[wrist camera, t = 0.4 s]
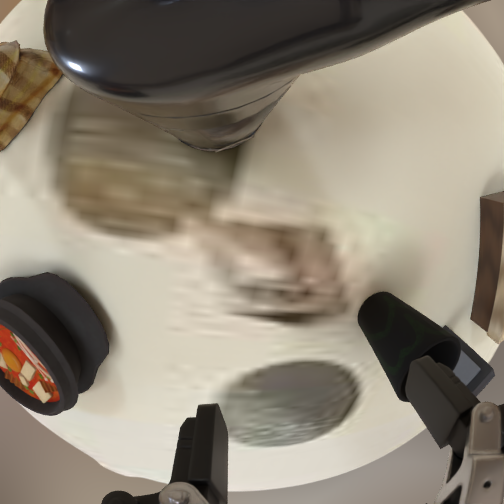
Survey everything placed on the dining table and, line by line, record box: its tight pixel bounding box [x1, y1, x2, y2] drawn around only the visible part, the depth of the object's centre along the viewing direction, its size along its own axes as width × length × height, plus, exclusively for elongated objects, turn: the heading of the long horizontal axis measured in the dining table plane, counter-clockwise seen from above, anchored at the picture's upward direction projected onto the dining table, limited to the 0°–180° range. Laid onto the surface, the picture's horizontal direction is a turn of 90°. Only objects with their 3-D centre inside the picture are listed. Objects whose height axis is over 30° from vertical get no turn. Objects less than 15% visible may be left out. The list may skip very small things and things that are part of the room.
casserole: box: [0, 272, 109, 416], centre depth 24 cm, size 25×19×8 cm
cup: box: [358, 292, 461, 402], centre depth 25 cm, size 8×8×12 cm
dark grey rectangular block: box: [443, 325, 495, 396], centre depth 28 cm, size 3×6×12 cm, turn 137°
